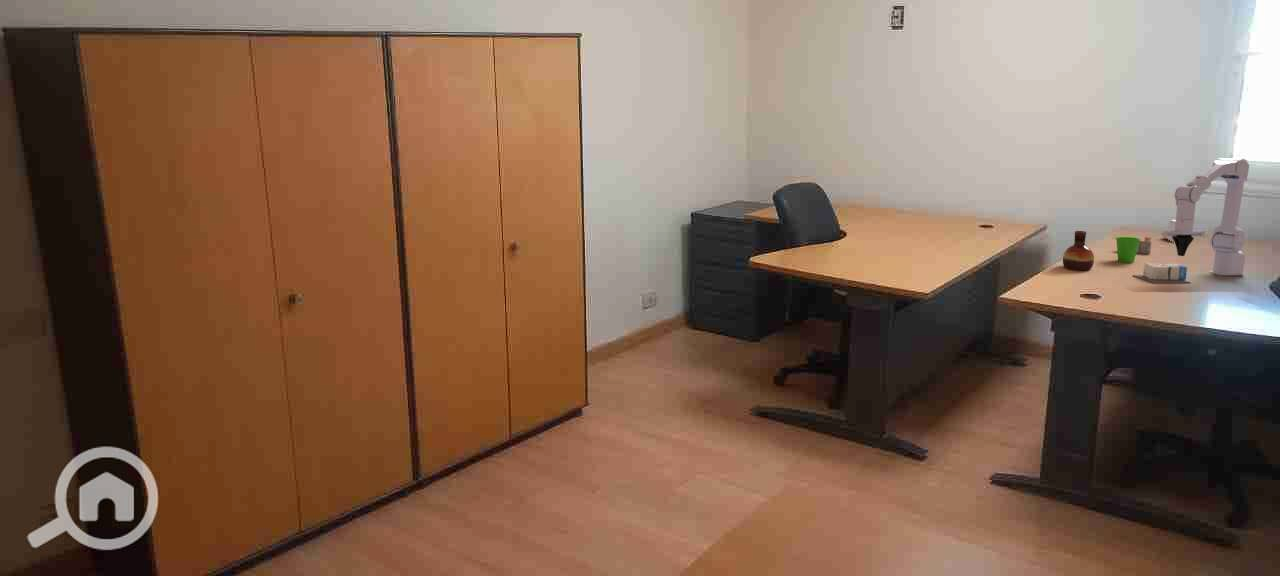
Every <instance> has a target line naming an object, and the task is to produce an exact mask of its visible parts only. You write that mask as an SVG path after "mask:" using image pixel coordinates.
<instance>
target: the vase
mask: <svg viewBox="0 0 1280 576" xmlns="http://www.w3.org/2000/svg"><path fill="white" fill-rule="evenodd" d="M1086 237H1087V231H1084V230H1075V231H1074V242H1073V244H1072V245H1070V246H1068V247H1067V248H1066V250H1065V251H1064V252H1063V255H1062V264H1063V267H1064V269H1067V270H1070V271H1077V272H1088V271H1090V270H1091V269H1092V268H1093V265H1094V263H1095V255H1094V252H1093V251H1092V250H1091V248H1090V247H1088V246H1087V245H1086Z"/></svg>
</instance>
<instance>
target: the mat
mask: <svg viewBox="0 0 1280 576" xmlns="http://www.w3.org/2000/svg"><path fill="white" fill-rule="evenodd" d="M1132 277H1134V278H1137V279H1140V280H1143V281H1144V282H1145V281H1146V282H1148V283H1152V284H1191V281H1187V280H1153V279H1149V278H1147V277H1146V276H1144V275H1143V274H1133V275H1132Z"/></svg>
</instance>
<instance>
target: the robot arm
mask: <svg viewBox="0 0 1280 576" xmlns="http://www.w3.org/2000/svg"><path fill="white" fill-rule="evenodd" d="M1249 168H1250V164H1249V163H1248V161H1247V159H1245V158H1226V157H1225V158H1224V157H1218V158H1217V159H1215V160H1214V161H1213V163H1212V166H1211V168H1210V169H1208V170H1207V171H1206V172H1205V173H1204V174H1197V175H1196V176H1195V177H1194V178H1192V179H1191V181H1189V182H1188V183H1187V184H1185V185H1180V186H1179V187H1177V188H1176V190H1175V193H1174V195H1173V196H1174V199H1175V206H1176V214H1175V215H1176V216H1175V220H1176V222H1175V230H1168V229H1167V230H1162V232H1161V237H1167V236H1172V238H1173V240H1174V242H1175V243H1174V244H1175V248H1176V253H1177V256H1179V257H1185V255H1186V252H1187V249H1189V246H1190V245H1191V243H1192V242H1193V241H1194V239H1195V237H1205V233H1206V230H1200V229H1199V230H1198V229H1197V230H1196V229H1194V222H1195V212H1196V206H1197V205H1196V203H1197V202H1199V200H1200V198H1201V196H1202V195H1203V193H1204V192H1205V191H1207V190H1208V189H1209V188H1210V187H1211V186H1212V182H1214V181H1215V180H1216V179H1219V178H1220V179H1222V180H1224V181H1225V182H1226V192H1225V198H1224V202H1223V210H1222V211H1223V212H1222V216H1221V224H1220V225H1219V226H1217V227H1215V228H1214V229H1213V233H1212V235H1211V237H1210V239H1209V241H1210V242H1209V243H1210V246H1211V248H1212V250H1213V251H1214V255H1213V264H1212V270H1207V272H1208V273H1210V274H1213V275H1216V276H1244V275H1245V274H1244V270H1245V269H1244V267H1245V261H1246V260H1245V259H1246V258H1245V253H1243V251H1241V250H1242V249H1243V248H1244V245H1245V231H1244V230H1243V229H1241V227H1239V226H1238V223H1239V217H1240V212H1241V204H1242V199H1243V192H1244V185H1245V182H1246V181H1247V180H1248V175H1249V170H1250V169H1249ZM1175 234H1177V235H1175ZM1179 234H1185V235H1179Z"/></svg>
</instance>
